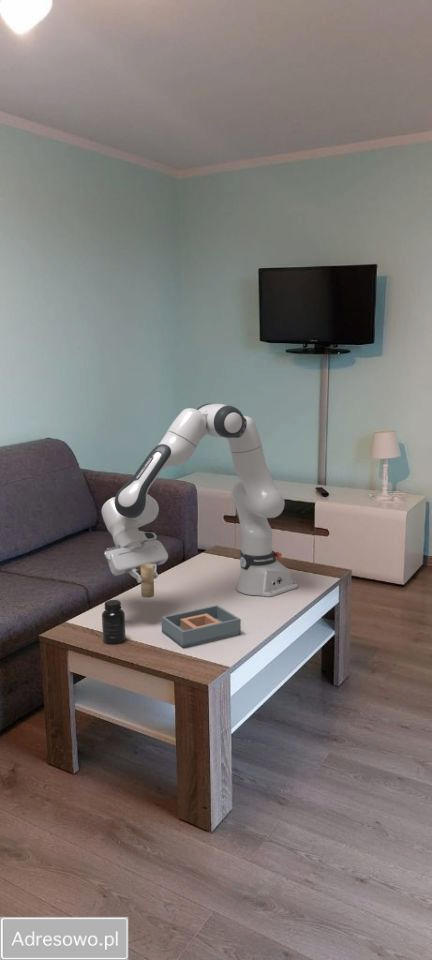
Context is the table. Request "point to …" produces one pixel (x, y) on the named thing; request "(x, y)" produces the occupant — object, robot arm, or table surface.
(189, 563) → the table surface
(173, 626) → the open-top box
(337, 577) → the table surface
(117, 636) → the supplement bottle
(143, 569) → the beech peg
